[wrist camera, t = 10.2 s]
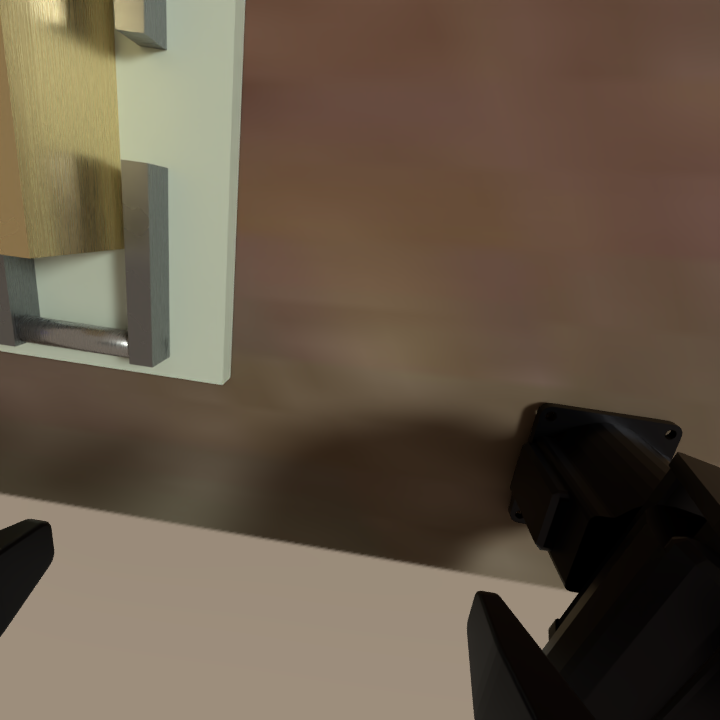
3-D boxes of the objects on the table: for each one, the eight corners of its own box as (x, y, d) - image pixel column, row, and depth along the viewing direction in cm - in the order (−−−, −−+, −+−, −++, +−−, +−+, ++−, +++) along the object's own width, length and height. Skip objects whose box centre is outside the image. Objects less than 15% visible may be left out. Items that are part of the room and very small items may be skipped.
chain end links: (163, -255, 13) (135, -313, 12) (169, 356, 19) (152, 367, 18) (-57, -282, 13) (-111, -343, 12) (21, 334, 19) (-8, 343, 18)
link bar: (108, -81, 14) (-29, -228, 10) (124, 248, 18) (29, 258, 13) (23, -92, 14) (-155, -243, 10) (56, 238, 18) (-64, 245, 13)
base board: (255, -256, 14) (245, -293, 13) (230, 377, 21) (222, 385, 20) (-106, -300, 14) (-143, -339, 13) (-9, 340, 21) (-28, 346, 20)
